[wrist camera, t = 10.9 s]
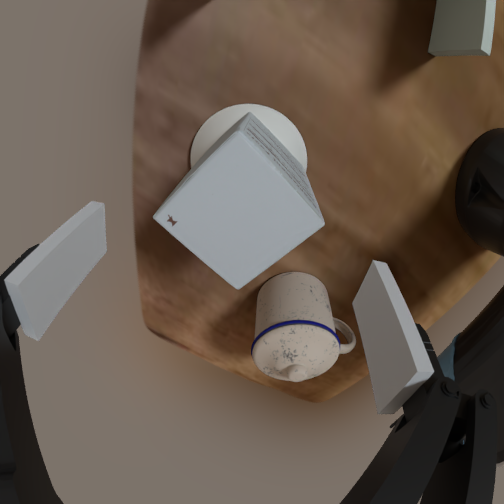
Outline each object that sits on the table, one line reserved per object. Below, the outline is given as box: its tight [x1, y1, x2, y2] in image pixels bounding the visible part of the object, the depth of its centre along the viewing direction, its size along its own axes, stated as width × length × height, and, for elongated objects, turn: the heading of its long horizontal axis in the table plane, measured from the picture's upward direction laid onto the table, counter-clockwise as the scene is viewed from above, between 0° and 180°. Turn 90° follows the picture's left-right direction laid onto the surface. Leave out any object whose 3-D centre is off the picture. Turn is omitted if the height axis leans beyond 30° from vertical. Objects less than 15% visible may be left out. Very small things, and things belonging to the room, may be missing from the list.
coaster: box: [191, 104, 307, 172], centre depth 28 cm, size 11×11×1 cm
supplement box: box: [153, 112, 325, 289], centre depth 22 cm, size 7×7×13 cm
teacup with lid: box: [251, 272, 356, 382], centre depth 32 cm, size 12×9×12 cm
